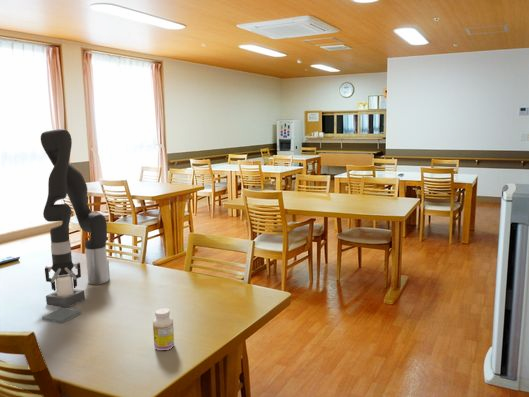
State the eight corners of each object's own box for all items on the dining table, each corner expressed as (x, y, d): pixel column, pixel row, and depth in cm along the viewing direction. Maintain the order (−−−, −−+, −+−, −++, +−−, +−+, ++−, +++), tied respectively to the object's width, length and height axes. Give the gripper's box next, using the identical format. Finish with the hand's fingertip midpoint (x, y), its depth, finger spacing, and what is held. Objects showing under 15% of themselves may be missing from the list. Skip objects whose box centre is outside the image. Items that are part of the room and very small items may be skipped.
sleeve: (66, 295, 204) (65, 287, 204) (84, 299, 200) (84, 290, 200) (46, 304, 195) (45, 295, 194) (65, 308, 191) (65, 299, 190)
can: (68, 305, 194) (65, 277, 192) (54, 304, 195) (51, 277, 193) (77, 299, 200) (75, 272, 198) (64, 298, 201) (61, 272, 199)
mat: (62, 309, 189) (61, 307, 189) (81, 313, 185) (80, 310, 185) (42, 319, 180) (41, 317, 180) (61, 323, 176) (61, 320, 176)
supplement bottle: (156, 342, 159) (153, 307, 157) (175, 341, 160) (173, 306, 158) (153, 352, 153) (150, 315, 150) (173, 351, 153) (171, 314, 151)
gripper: (41, 255, 188) (45, 294, 190) (79, 251, 193) (83, 289, 196) (42, 251, 194) (46, 288, 197) (79, 247, 200) (82, 283, 203)
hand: (64, 288), depth 196 cm, fingers open, 7 cm apart
